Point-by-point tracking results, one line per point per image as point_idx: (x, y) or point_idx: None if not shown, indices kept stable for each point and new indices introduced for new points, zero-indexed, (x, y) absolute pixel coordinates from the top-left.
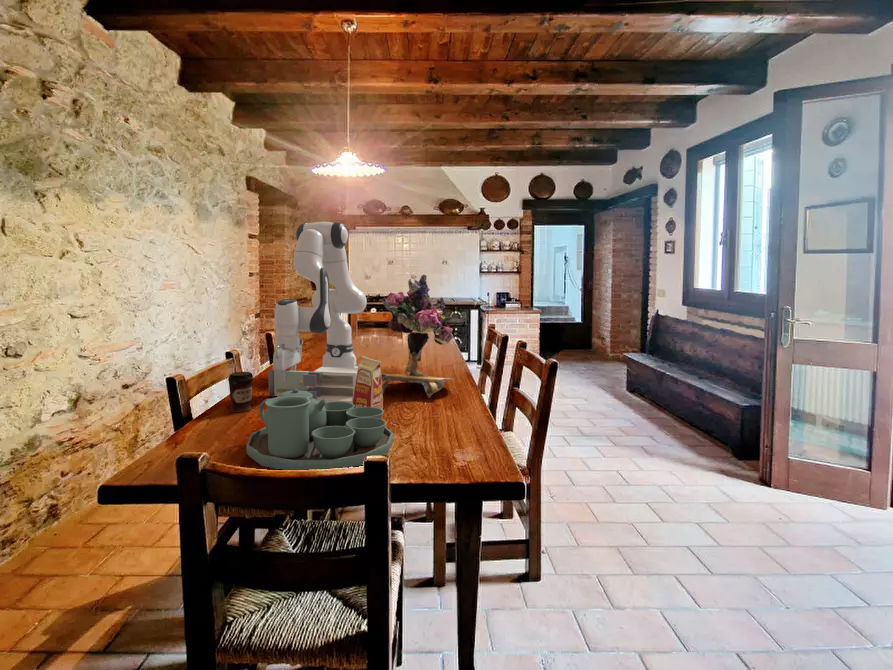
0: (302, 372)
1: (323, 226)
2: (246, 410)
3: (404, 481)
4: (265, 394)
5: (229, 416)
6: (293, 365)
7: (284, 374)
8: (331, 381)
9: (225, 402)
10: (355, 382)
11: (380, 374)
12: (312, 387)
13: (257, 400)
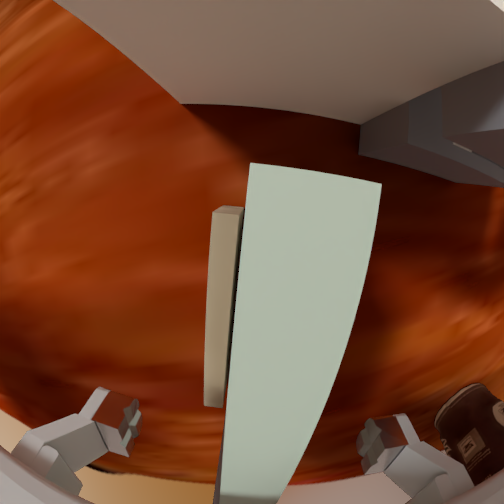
0: (345, 316)
1: None
2: (483, 385)
3: None
4: (216, 429)
5: (499, 393)
6: (60, 475)
7: (439, 456)
8: None
9: (349, 477)
10: None
11: None
12: (418, 113)
13: (338, 427)
